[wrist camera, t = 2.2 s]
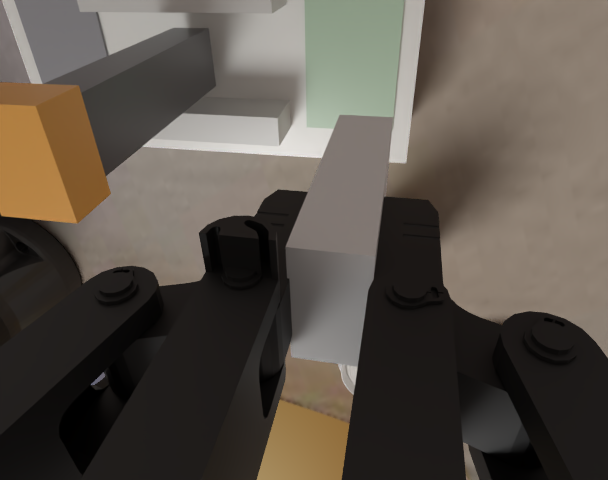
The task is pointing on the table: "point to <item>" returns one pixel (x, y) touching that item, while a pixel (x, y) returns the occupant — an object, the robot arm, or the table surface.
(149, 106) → the lever
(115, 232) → the table surface
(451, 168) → the table surface
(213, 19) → the breaker block
